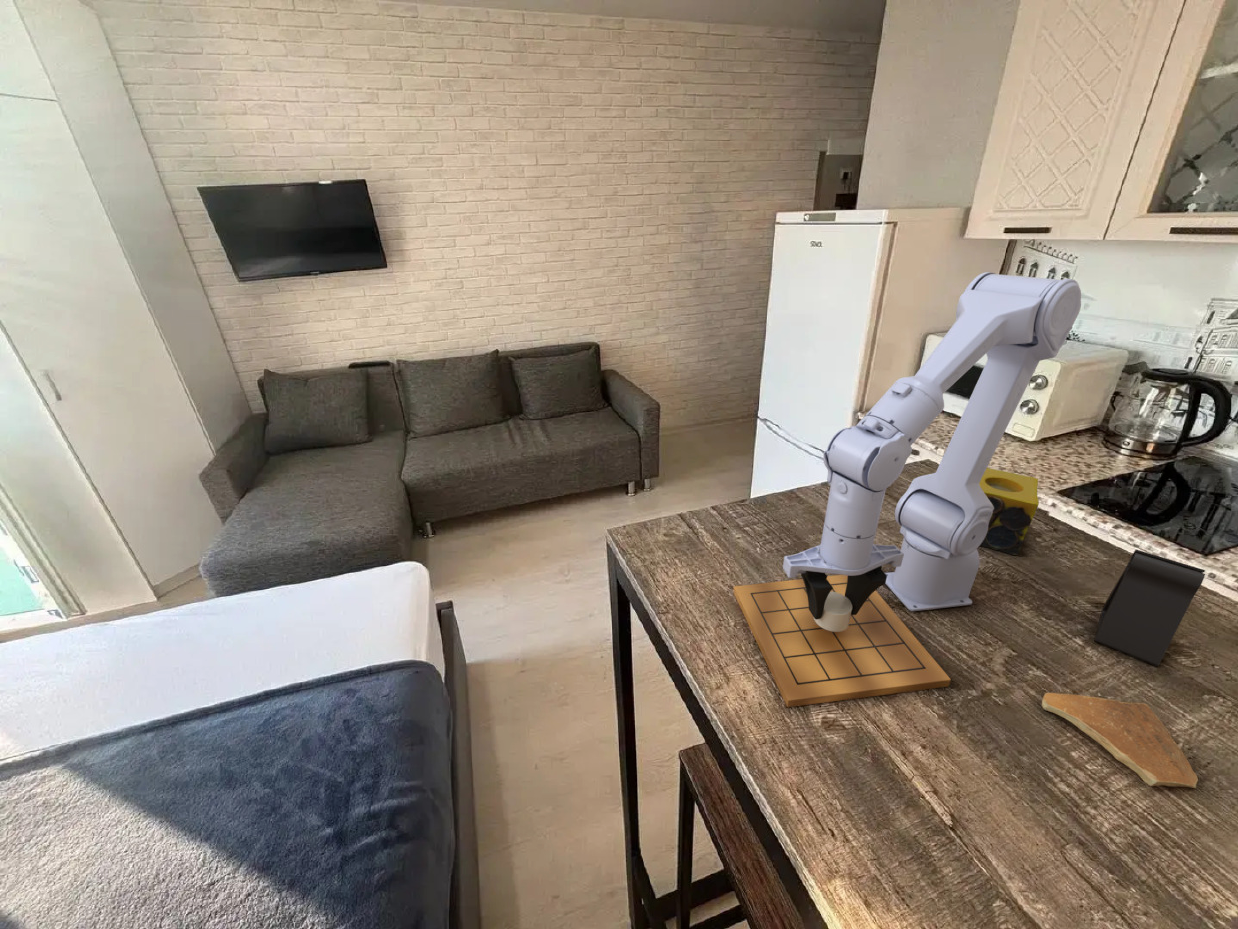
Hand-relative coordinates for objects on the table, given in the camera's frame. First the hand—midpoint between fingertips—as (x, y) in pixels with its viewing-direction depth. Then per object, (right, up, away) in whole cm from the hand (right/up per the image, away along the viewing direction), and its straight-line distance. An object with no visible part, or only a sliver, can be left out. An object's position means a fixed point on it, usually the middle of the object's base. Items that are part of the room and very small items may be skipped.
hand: (832, 611), depth 67 cm
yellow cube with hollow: (+35, +7, +21) cm, 41 cm away
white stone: (0, -1, +1) cm, 1 cm away
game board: (0, -4, +2) cm, 4 cm away
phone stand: (+39, -3, 0) cm, 39 cm away
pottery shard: (+24, -10, -13) cm, 29 cm away
